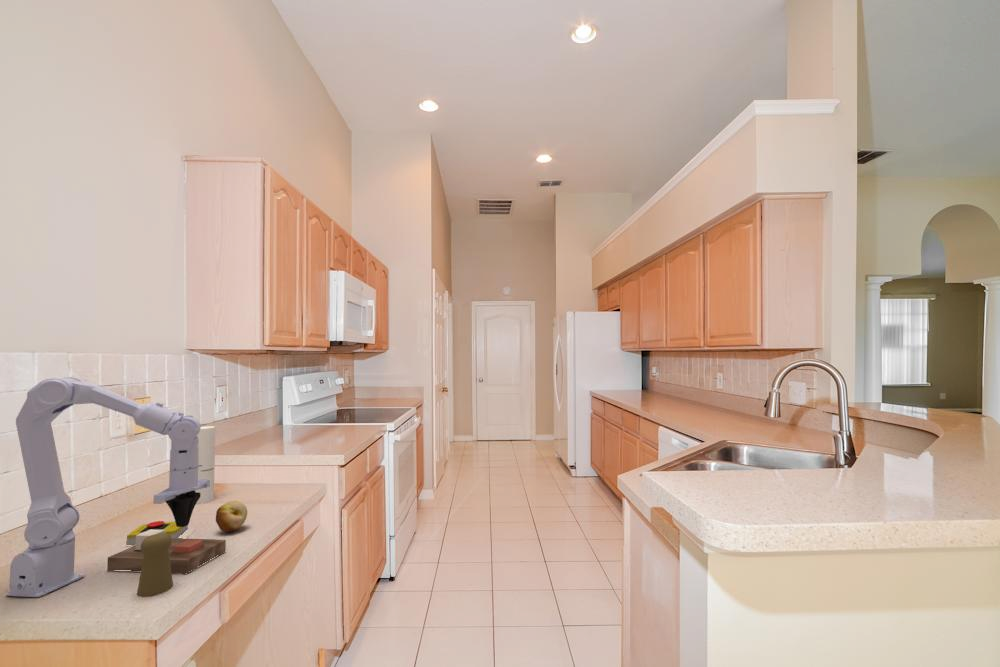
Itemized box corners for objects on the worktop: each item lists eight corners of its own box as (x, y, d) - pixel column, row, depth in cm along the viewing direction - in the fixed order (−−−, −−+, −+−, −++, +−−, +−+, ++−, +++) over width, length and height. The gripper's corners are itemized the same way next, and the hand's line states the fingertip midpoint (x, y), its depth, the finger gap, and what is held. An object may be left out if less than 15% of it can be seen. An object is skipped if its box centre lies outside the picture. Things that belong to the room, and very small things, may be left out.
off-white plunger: (150, 550, 108) (151, 535, 109) (135, 549, 109) (135, 535, 109) (165, 543, 112) (165, 529, 113) (150, 543, 113) (150, 529, 113)
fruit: (212, 538, 124) (213, 507, 125) (218, 528, 132) (219, 499, 132) (244, 533, 127) (245, 504, 128) (248, 524, 135) (249, 496, 135)
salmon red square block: (189, 561, 107) (189, 547, 107) (173, 561, 108) (173, 546, 108) (202, 554, 111) (202, 540, 111) (187, 553, 111) (187, 539, 112)
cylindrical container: (193, 499, 161) (194, 427, 163) (216, 497, 164) (217, 425, 165) (186, 505, 155) (187, 429, 156) (210, 502, 157) (211, 428, 158)
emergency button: (136, 520, 128) (197, 514, 132) (135, 536, 128) (197, 530, 132) (118, 531, 119) (184, 525, 123) (117, 549, 119) (184, 542, 123)
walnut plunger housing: (187, 574, 103) (187, 560, 103) (107, 570, 105) (107, 557, 105) (225, 552, 115) (225, 539, 115) (153, 549, 117) (153, 537, 117)
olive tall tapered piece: (179, 582, 99) (181, 529, 100) (160, 596, 93) (161, 540, 94) (150, 583, 99) (152, 530, 99) (129, 597, 93) (130, 541, 93)
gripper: (174, 475, 103) (172, 537, 102) (221, 461, 117) (220, 516, 117) (145, 474, 104) (143, 536, 103) (196, 461, 118) (194, 515, 117)
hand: (182, 525), depth 110 cm, fingers closed
